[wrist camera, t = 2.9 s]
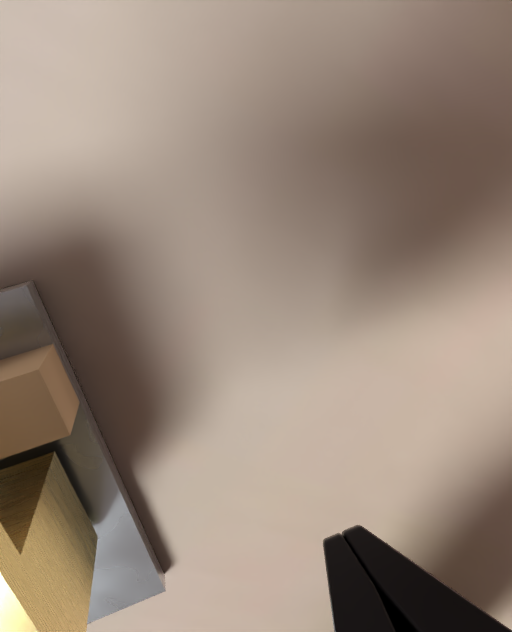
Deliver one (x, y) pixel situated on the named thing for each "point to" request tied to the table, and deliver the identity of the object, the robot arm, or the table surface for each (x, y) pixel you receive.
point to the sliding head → (44, 550)
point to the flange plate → (85, 470)
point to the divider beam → (34, 401)
